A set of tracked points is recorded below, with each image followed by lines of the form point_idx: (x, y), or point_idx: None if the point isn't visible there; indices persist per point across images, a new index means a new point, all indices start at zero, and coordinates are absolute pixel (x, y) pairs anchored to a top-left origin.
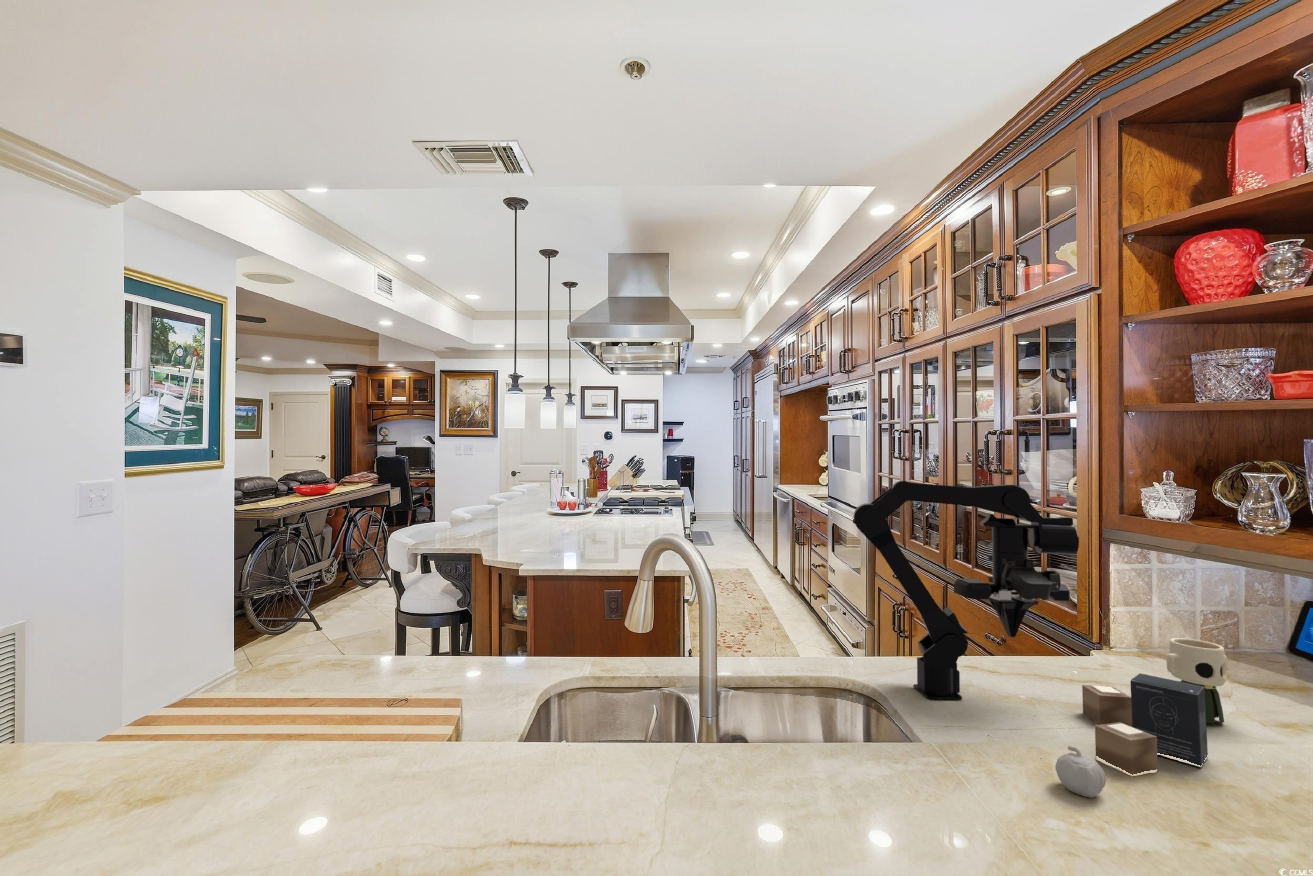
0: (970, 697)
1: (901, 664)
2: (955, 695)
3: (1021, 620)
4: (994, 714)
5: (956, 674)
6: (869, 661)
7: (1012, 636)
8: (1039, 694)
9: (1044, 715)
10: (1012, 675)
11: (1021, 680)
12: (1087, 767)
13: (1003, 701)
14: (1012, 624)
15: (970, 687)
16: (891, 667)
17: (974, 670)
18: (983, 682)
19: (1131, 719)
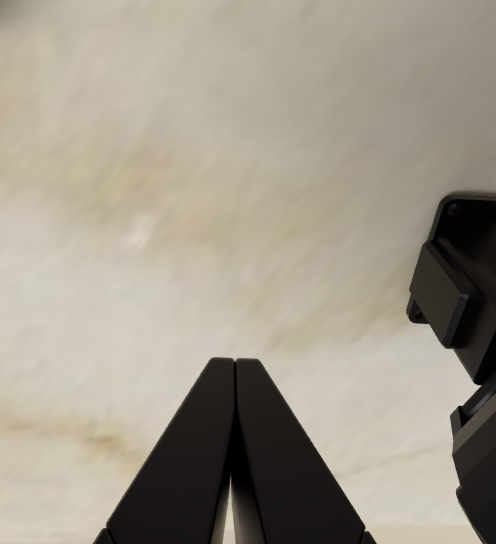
0: (376, 227)
1: (386, 486)
2: (463, 217)
3: (116, 525)
4: (426, 29)
5: (482, 277)
6: None
7: (246, 359)
8: (47, 254)
9: (176, 7)
10: (51, 416)
11: (43, 378)
12: None
13: (262, 184)
14: (273, 464)
15: (295, 320)
16: (441, 467)
17: None
18: (207, 362)
19: None
